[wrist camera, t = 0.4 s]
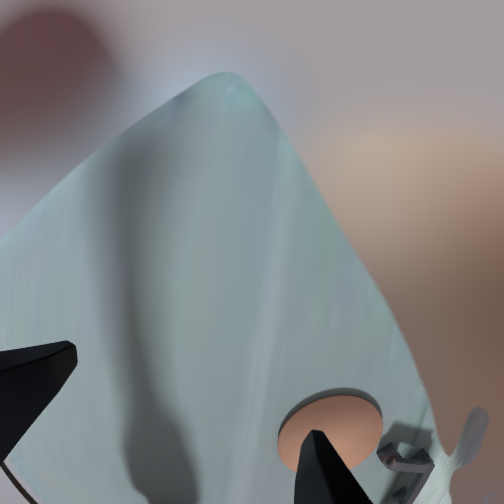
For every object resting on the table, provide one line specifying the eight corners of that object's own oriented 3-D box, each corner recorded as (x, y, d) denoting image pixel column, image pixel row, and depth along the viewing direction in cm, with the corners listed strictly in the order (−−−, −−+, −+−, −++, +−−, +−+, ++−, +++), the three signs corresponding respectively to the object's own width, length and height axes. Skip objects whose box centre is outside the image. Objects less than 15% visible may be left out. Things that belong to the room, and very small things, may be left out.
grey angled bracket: (396, 499, 21) (403, 512, 17) (358, 464, 22) (365, 480, 18) (437, 469, 21) (447, 480, 17) (409, 428, 22) (421, 441, 18)
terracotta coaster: (314, 485, 22) (314, 488, 21) (255, 434, 23) (255, 437, 22) (395, 434, 22) (397, 436, 21) (349, 373, 23) (351, 375, 22)
